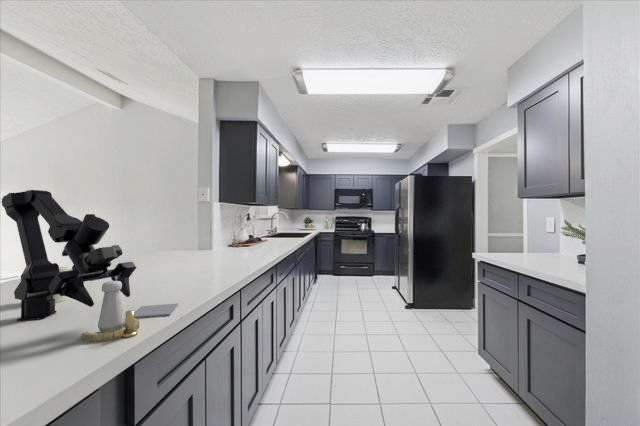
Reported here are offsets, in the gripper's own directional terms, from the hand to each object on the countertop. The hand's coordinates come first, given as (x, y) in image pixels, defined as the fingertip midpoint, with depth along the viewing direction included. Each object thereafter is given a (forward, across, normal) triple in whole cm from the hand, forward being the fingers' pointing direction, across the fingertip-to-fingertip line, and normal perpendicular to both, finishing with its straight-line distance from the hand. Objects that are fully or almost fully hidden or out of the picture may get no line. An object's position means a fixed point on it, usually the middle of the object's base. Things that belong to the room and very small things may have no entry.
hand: (111, 300), depth 75 cm
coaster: (+3, +16, +8) cm, 18 cm away
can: (-30, +12, +41) cm, 52 cm away
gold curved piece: (+8, 0, +3) cm, 9 cm away
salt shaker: (+6, 0, +6) cm, 8 cm away
